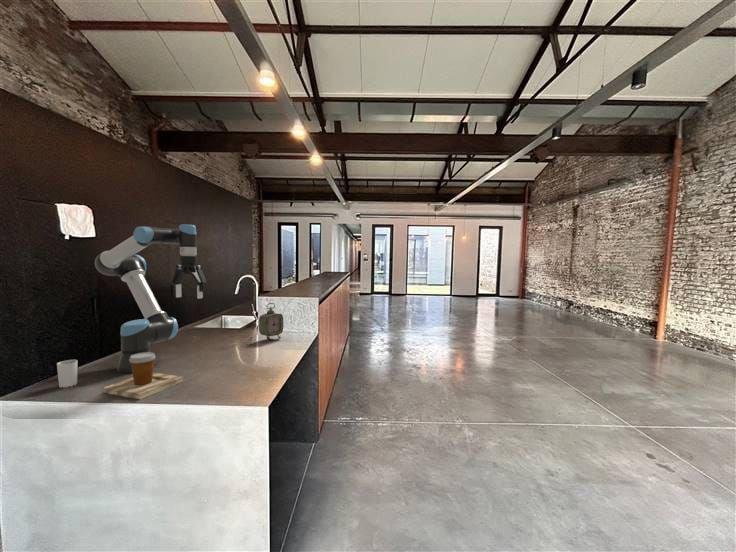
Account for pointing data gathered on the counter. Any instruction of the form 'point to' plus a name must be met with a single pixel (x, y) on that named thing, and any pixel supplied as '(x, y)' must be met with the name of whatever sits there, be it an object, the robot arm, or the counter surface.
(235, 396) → the counter surface
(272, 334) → the tabletop clock
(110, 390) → the birch board
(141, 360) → the disposable coffee cup
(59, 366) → the drinking glass
